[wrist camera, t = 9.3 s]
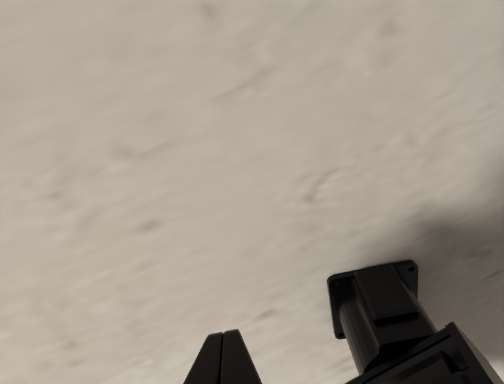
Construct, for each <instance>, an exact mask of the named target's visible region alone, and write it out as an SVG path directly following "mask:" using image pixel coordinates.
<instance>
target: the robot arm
mask: <svg viewBox="0 0 504 384" xmlns="http://www.w3.org/2000/svg"><path fill="white" fill-rule="evenodd" d="M409 267H410V268H409ZM333 282H335V283H333ZM327 286H328V294H329V301H330V308H331V315H332V322H333V329H334V334H335V337H336V338H337V339H345V338H346V339H347V342H348V345H349V348H350V350H351V353H352V356H353V359H354V362H355V365H356V367H357V370H358V373H359V376H357V377H356V378H354V379H352V380H350V381H348V382H347V383H345V384H504V382H503V381H502V380H501V378H500V377H499V376H498V374H497V373H496V372H495V370H494V369H493V368H492V366H491V365H490V364H489V362H488V361H487V360H486V358H485V357H484V356H483V355H482V354H481V352H480V351H479V350H478V349H477V348H476V347H475V346H474V345H473V343H472V342H471V341H470V340H469V339H468V338H467V337H466V335H465V334H464V333H463V332H462V331H461V330H460V329H459V328H458V326H457V325H456V324H455V323H454V322H451V323H449V324H448V325H446V326H445V327H446V328H444V329H442V330H440V331H437V329H436V328H435V326H434V325H433V323H432V321H431V320H430V318H429V317H428V315H427V314H426V312H425V310H424V309H423V307H422V306H421V304H420V303H419V301H418V299H417V291H418V266H417V264H416V263H415V262H414V261H412V260H408V261H403V262H398V263H393V264H388V265H383V266H378V267H373V268H368V269H363V270H358V271H353V272H348V273H343V274H338V275H333V276H330V277H329V278H328V279H327ZM183 384H262V382H261V380H260V378H259V375H258V373H257V371H256V368H255V366H254V364H253V362H252V359H251V357H250V355H249V352H248V350H247V348H246V345H245V343H244V341H243V338H242V336H241V334H240V332H239V330H238V329H234V330H229V331H225V332H224V333H222V332H219V333H214V334H210V335H208V336H207V338H206V340H205V342H204V344H203V346H202V348H201V350H200V352H199V354H198V356H197V358H196V360H195V362H194V364H193V366H192V368H191V370H190V371H189V373H188V375H187V377H186V379H185V381H184V383H183Z"/></svg>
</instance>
